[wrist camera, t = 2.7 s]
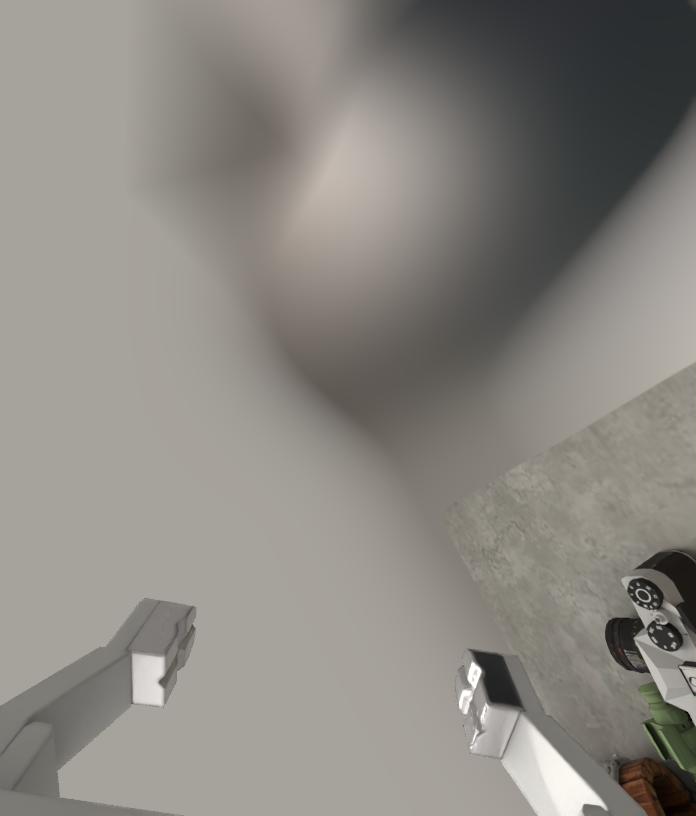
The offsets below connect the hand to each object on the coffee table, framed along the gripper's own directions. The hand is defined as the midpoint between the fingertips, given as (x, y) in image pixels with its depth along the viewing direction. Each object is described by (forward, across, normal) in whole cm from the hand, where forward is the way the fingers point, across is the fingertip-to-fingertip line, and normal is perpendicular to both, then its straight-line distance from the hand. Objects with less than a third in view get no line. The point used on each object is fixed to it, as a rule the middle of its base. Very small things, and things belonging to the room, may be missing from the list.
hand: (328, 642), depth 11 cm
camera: (+24, -39, +18) cm, 49 cm away
